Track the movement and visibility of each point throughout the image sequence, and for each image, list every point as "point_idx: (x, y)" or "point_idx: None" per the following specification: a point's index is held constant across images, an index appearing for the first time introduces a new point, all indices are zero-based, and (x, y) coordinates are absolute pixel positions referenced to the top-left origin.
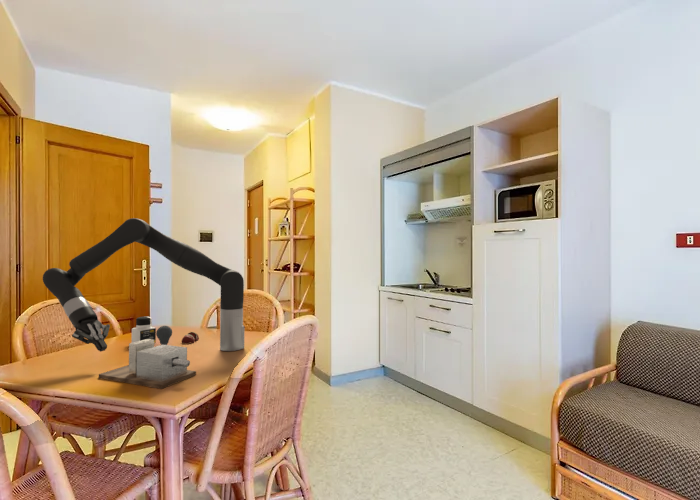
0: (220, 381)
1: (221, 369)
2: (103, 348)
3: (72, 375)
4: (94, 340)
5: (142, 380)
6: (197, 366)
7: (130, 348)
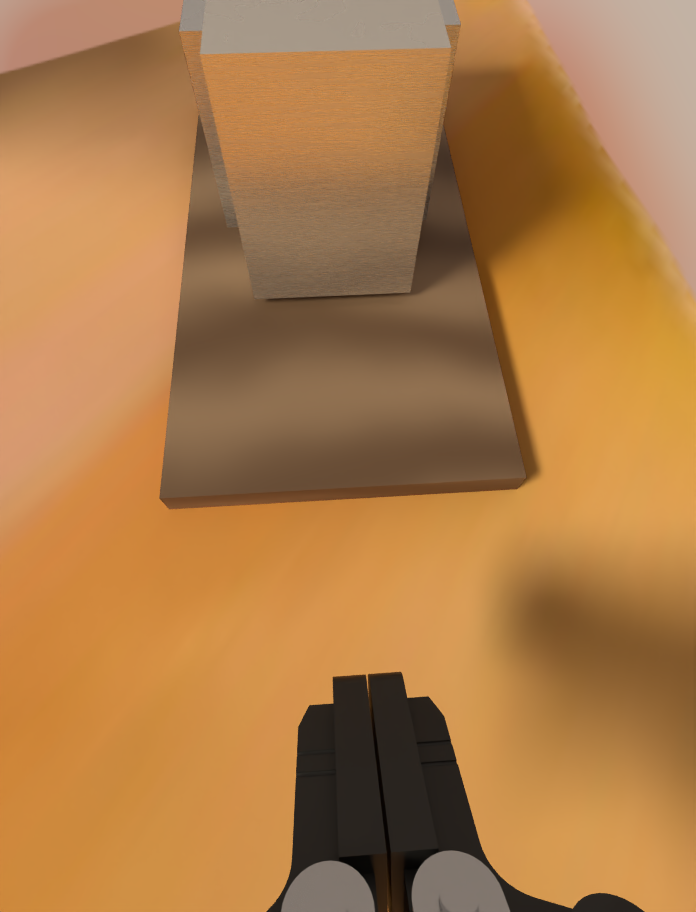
0: None
1: (89, 69)
2: (389, 675)
3: (626, 790)
4: (508, 894)
5: (440, 165)
6: (67, 172)
7: (438, 93)
